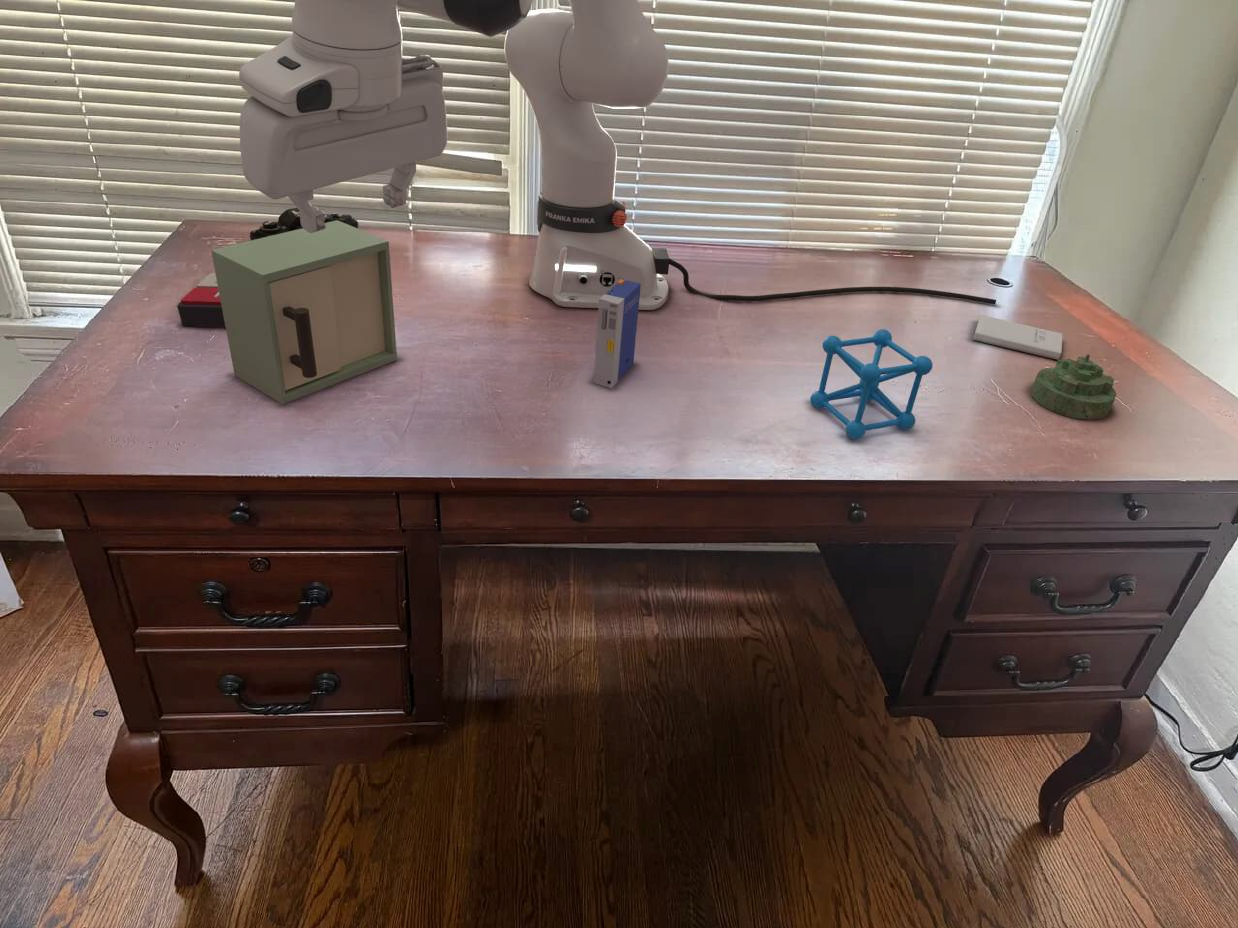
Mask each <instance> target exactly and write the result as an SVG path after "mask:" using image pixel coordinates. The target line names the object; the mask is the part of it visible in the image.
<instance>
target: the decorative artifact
mask: <svg viewBox="0 0 1238 928" xmlns="http://www.w3.org/2000/svg"><path fill="white" fill-rule="evenodd" d="M1090 357H1091V354H1088V353H1087V354H1085V356H1078V357H1077V359H1076V360H1073V359H1072V358H1066V359H1059V360H1056V364H1055V366H1054V367H1045V368H1042V369H1040V370H1039V371H1038V372H1037V374H1036V376H1035V379H1034V381H1033V384H1032V387H1031V389H1030V395H1031V397H1032V398H1033V400H1035V401H1036V402H1037V403H1038V404H1039V405H1040V406H1042V407H1044V408H1045V409H1047V410H1049V411H1052V412H1054V413H1056V414H1059V415H1061V416H1065V417H1068V418H1074V419H1078V420H1079V419H1080V420H1090V421H1093V420H1100V419H1103V418H1105V417H1107V416H1109V413H1110V411H1111V408H1112V407H1113V404H1114V402H1115V400H1116V397H1117V391H1116V390H1115V388H1114V387H1113V386H1114V383H1115V380H1114V378H1113V376H1111V375H1105V373H1104V372H1105V371H1104V368H1103V367H1101V366H1100V365H1099V364H1098V363H1095V362H1094V361H1093V360H1091V359H1090Z"/></svg>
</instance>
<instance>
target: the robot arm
mask: <svg viewBox="0 0 1238 928" xmlns="http://www.w3.org/2000/svg"><path fill="white" fill-rule="evenodd" d="M533 1H534V0H294V7H293V12H292V16H291V30H292V32H291V33H292V35H291V36H289V37H287V38H286V39H284V40H283V41H281V42H280V43H279V44H277V45H276V46H274V47H273V48H271V49H269V50H267V51H265V52H264V53H262V54H260V55H258V56H256V57H254V58H253V59H251V60H249V61H247V62H245V63H244V64H243V65H241V67H240V68H239V72H238V77H239V83H240V86H241V88H242V90H244V91H245V92H246V93H247V94H248V95H250V96H249V98H247V99H246V100H245V102H244V103H243V105H242V107H241V110H240V116H239V147H240V160H241V166H242V167H241V168H242V171H243V176H244V177H245V179H246V181H247V183H249V184H250V185H251V186H252V187H253V188H255V189H256V190H257V191H258V192H260V193H262V194H263V195H265V196H266V197H267V198H270V199H272V200H280V199H283V198H287V197H288V199H290V201H291V202H292V204H293V205H294V206H295V208H297V209H298V210H300V221H301V226H302V227H303V229H305V230H306V231H308V232H309V233H314V232H317V231H320V230H323V229H325V227H326V225H325V223H324V221H325V214H326V213H325V212H324V211H322V210H320V209H318V207H316V206H315V205H311V203H310V202H309V201H312V200H314V190H317V189H322V188H324V187H329V186H332V185H336V184H341V183H344V182H347V181H351V180H354V179H358V178H362V177H366V176H370V175H374V174H378V173H381V172H385V171H388V170H392V169H393V172H392V175H391V178H390V180H389V183H388V184H385V185H382V193H383V195H382V200H383V203H384V204H385V205H386V206H389V207H390V208H391V209H395V208H398V207H402V206H406V204H407V190H408V188H409V187H410V185H411V182H412V180H413V178H414V177H415V175H416V172H417V163H418V162H422V161H426V160H430V159H434V158H437V157H440V156H442V155H443V153H444V151H445V149H446V148H447V145H448V119H447V108H446V102H445V101H446V100H445V94H444V92H443V90H444V72H443V68H442V67H441V65H440V64H439V62H438V61H437V60H435V59H434V58H432V57H431V56H430V55H427V54H421V55H416V56H415V57H410V58H409V57H403V30H402V25H401V22H400V19H399V12H398V8H400V9H401V10H404V11H407V12H411V13H416V14H419V15H423V16H427V17H431V18H434V19H439V20H442V21H446V22H450V23H453V24H455V25H456V26H458V27H461V28H464V29H467V30H470V31H473V32H476V33H478V34H481V35H483V36H486V37H489V38H496V37H498V36H500V35H502V34H504V33H506V35H505V40H504V47H503V49H504V58H505V63H506V66H507V68H508V70H509V72H510V74H511V76H512V77H513V78H514V79H515V80H516V81H517V83H518V84H519V85H520V87H521V88H522V90H523V92H524V93H525V95H526V97H527V99H528V102H529V105H530V106H531V110H532V112H533V116H534V119H535V121H536V125H537V129H538V134H539V139H540V148H541V149H540V151H541V152H540V153H541V154H540V155H541V192H540V194H539V195H538V199H537V204H536V206H537V207H536V225H537V231H538V238H537V245H536V252H535V256H534V262H533V264H532V269H531V272H530V275H529V278H528V285H529V287H530V288H531V290H533V291H534V292H536V293H537V294H539V295H541V296H544V297H546V298H548V299H550V300H551V301H552V302H553V303H554V304H556V305H557V306H559V307H561V308H578V309H579V308H580V309H585V308H586V309H598V306H599V298H601V297H602V296H603V295H604V294H605V293H606V292H607V291H609V290H610V289H611V288H612V287H613V286H614V285H616V284H617V282H618V281H619V280H620V279H622V280H627V281H632V282H636V283H641V288H640V299H639V309H638V311H655V310H657V309H659V308H661V307H662V306H664V304H665V303H666V302H667V300H668V297H669V283H668V281H667V279H666V277H664V275H669V270H670V269H669V268H670V266H672V267H674V268H675V269H677V270H679V271H680V272H681V274H682V277H683V286H684V288H685V289H686V290H687V291H689V293H691V294H694V295H699V296H703V297H707V298H710V299H713V300H718V301H719V300H720V301H737V302H761V301H771V300H782V299H783V300H784V299H794V298H804V297H813V296H822V295H823V296H824V295H833V294H846V293H847V294H848V293H870V292H874V293H875V292H879V293H880V292H881V293H882V292H883V293H887V292H888V293H905V294H917V295H918V294H919V295H927V296H928V295H929V296H935V297H944V298H952V299H959V300H964V301H972V302H977V303H982V304H988V305H994V306H995V305H996V303H997V299H995V298H989V297H983V296H977V295H970V294H963V293H957V292H951V291H943V290H937V289H927V288H917V287H915V288H914V287H903V286H852V287H849V286H848V287H838V288H837V287H836V288H825V289H816V290H815V289H814V290H806V291H805V290H803V291H796V292H782V293H772V294H763V295H761V294H760V295H739V294H738V295H737V294H710V293H704V292H701V291H699V290H697V289H695V288H694V287H693V286H692V285H691V284H690V282H689V279H690V277H689V272H688V270H687V269H686V268H685V267H684V265H682V264H681V263H679V262H677V261H675V260H674V259H671V258H670V257H669V252H668V250H667V248H664V247H663V248H662V247H652V248H651V246H650V245H649V244H648V243H646V242H645V241H644V240H643V239H641V238H640V237H639V236H638V235H637V234H636V233H635V232H634V231H632V229H630V228H629V227H628V226H627V225H626V221H627V218H628V215H627V207H626V202H625V201H624V200H623V201H622V202H620V200H618V199H617V198H615V185H616V183H615V182H616V171H617V159H618V152H617V147H616V144H615V141H614V140H613V138H612V136H611V135H609V133H608V132H607V131H606V130H605V129H604V127H602V125H601V124H600V121H599V120H598V118H597V115H596V113H595V109H594V105H598V106H601V107H605V108H610V109H615V110H618V109H619V110H620V109H623V110H624V109H626V110H627V109H644V108H647V107H649V106H650V105H652V104H653V103H654V102H655V101H656V100H657V99H658V97H659V96H660V95H661V94H662V91H664V87H665V86H666V82H667V80H668V75H669V68H670V67H669V66H670V65H669V55H668V50H667V48H666V45H665V43H664V40H663V39H662V37H661V36H660V35H659V34H658V33H657V32H656V31H655V30H654V28H653V27H652V26H651V24H650V23H649V21H648V20H647V18H646V15H645V14H644V12H643V11H642V8H641V6H640V4H639V1H638V0H568V2H569V3H568V4H569V6H570V8H571V11H568V10H562V9H556V8H543V9H542V8H541V9H534V10H531V7H532V4H533Z"/></svg>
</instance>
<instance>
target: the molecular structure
mask: <svg viewBox="0 0 1238 928" xmlns="http://www.w3.org/2000/svg"><path fill="white" fill-rule="evenodd" d="M891 333H892V332H890V331H889V330H887V329H884V328H882V329H878V330H876V331H875V332H874V333H873V335H872V336H869V337H860V338H853V339H847V340H846V339H845V340H841V338H840V337H839V336H836V335H829V336H827V337H825V338H824V340H823V341H822V350H823V351H824V352H825V353H826V356H825V357H826V358H825V362H824V366H823V369H822V370H823V371H822V373H821V378H820V383H819V388H818V390H815V391H814V392H813V393H812V394H811V396H810V399H809V401H810V404H811V406H812V407H813V408H815V409H821V410H822V409H826V411H828V412H829V413H830V414H832V415H833V416H834V417H835V418H836V419H837V420H839V421H840V422H841V423H842V424H844V425H845V433H846V435H847V437H849V438H850V439H852V440H858V439H861V438H863V436H864V435H865V434H866V432H867V431H871V430H872V431H873V430H877V429H882V428H888V427H895V426H897V427H898V428H899V429H901V430H903V431H908V430H910V429H912V428H914V426H915V424H916V417H915V414H913V413H912V412H913V408H914V405H915V403H916V398H917V395H918V392H919V389H920V385H921V382H922V379H923V376H926V375H928V374H929V373H931V371H932V369H933V366H934V365H933V361H932V359H931V358H930V357H929V356H926V355H920V356H917V357H916V356H914V355H913V354H912V353H911V352H909V351H907V350H906V349H904V348H902V347H901V346H899V345H898V344H897V343H895V342H893V340H892V339H893V336H892V334H891ZM865 344H874V346H876V348H875V351H874V355H873V358H872V362H869V363H866V364H864V363H863V362H861V361H860V360H858V359H857V358H856V357H854V356H853V355H852V354H850V353H849V352H847V351H846V350H845V349H843V347H851V346H858V345H865ZM887 347H889V349H891V350H893V351H894V352H896V353H897V354H899V355H901V356H902V357H903V358H905V359H906V360H908V361H909V362H910V364H903V365H895V366H890V367H883V368H881V367H879V364H880V360H881V356H882V352H883V349H884V348H887ZM834 355H837V356H838V357H839V358H840V359H841V361H842V362H844V363H845V364H846V365H847V366H848V367H849V369H851V371H852V372H853V373H855V375H857V377H858V378H859V383H856V384H853V385H850V386H847V387H844V388H841V389H838V390H834V391H831V392H828V393H827V392H826V387H827V382H828V379H829V378H828V377H829V375H830V369H831V365H832V361H833V357H834ZM911 373H914V374H915V378H914V380H913V383H912V387H911V390H910V394H909V396H908V397H909V398H908V401H907V404H906V407H905V410H904V411H901V410H900V409H899V408H898V407H897V406H896V405H895V404H894V403H893V401H892V400H890V398H889V397H888V396H887V395H886V394H885V393H884V392H883V391H882V390H881V389H880V388H879V386H880V383H883V382H887V381H889V380H892V379H895V378H898V377H902V376H905V375H908V374H911ZM856 397H860V399H859V402H858V406H857V411H856V414H855V418H854V419H852V420H850V419H848V418H847V417H846V416H845V415H843V413H841V412H840V411H839V410H837V408H835V407H834V406H833V405H832V404H830V402H831V401H838V400H843V399H850V398H856ZM868 401H869V402H870V401H875V402H876V403H877V404H878V405H880V406H881V407H882V408H884V409H885V410H886V411H887V412H889V413H890V414H891V415H893V416H894V417H895V419H891V420H885V421H884V420H883V421H879V422H873V423H867V424H865V423H864V422H863V421H862V420H863V418H864V413H865V411H866V410H865V409H866V406H867V403H868Z"/></svg>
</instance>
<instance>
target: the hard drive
mask: <svg viewBox="0 0 1238 928" xmlns="http://www.w3.org/2000/svg"><path fill="white" fill-rule="evenodd" d="M977 319H978V320H977V323H976V327H975V331H974V334H973V338H972V340H973V341H977V342H980V343H985V344H989V345H994V346H997V347H1001V348H1005V349H1010V350H1014V351H1018V352H1021V353H1027V354H1029V355H1030V354H1031V355H1035V356H1039V357H1042V358H1043V357H1044V358H1048V359H1052V360H1056V361H1058V360H1060V358H1061V355H1062V352H1063V333H1060V332H1057V331H1053V330H1047V329H1044V328H1039V327H1035V326H1031V325H1027V324H1022V323H1018V322H1014V321H1010V320H1005V319H1001V318H997V317H993V316H989V315H984V314H979V317H978V318H977Z"/></svg>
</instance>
